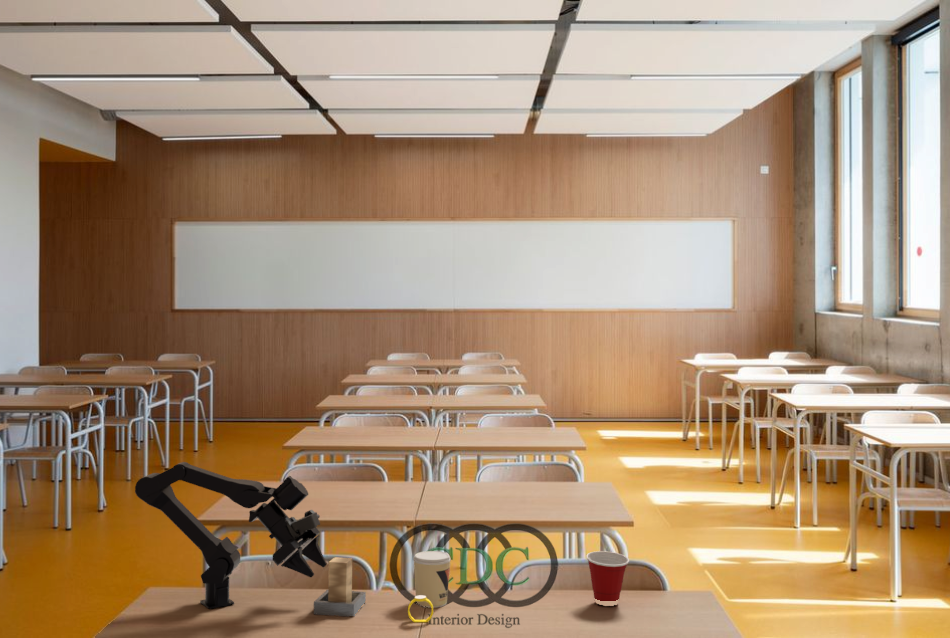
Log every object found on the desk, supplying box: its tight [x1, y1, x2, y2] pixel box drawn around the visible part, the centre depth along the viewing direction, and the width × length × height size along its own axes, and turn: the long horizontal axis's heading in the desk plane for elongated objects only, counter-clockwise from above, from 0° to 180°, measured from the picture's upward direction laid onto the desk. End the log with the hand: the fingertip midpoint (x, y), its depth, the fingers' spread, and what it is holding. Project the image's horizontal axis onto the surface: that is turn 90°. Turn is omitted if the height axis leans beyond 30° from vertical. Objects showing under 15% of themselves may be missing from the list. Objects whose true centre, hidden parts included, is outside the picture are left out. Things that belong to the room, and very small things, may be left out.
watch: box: [407, 595, 434, 624], centre depth 206 cm, size 6×3×6 cm, turn 93°
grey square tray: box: [313, 589, 367, 617], centre depth 214 cm, size 10×10×3 cm
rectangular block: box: [327, 556, 353, 603], centre depth 214 cm, size 4×4×12 cm
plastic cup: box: [586, 550, 630, 601], centre depth 221 cm, size 11×11×12 cm
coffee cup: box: [413, 550, 451, 609], centre depth 220 cm, size 9×9×12 cm
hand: (319, 571), depth 215 cm, fingers open, 9 cm apart
